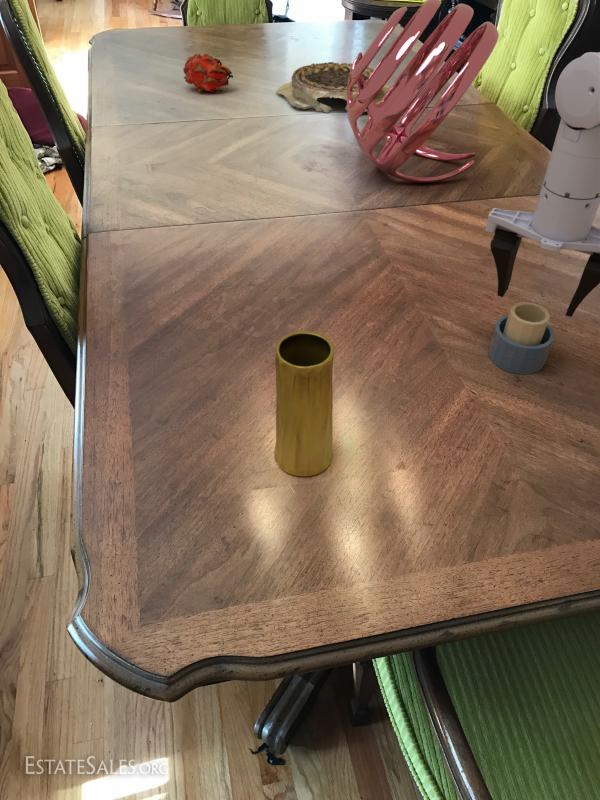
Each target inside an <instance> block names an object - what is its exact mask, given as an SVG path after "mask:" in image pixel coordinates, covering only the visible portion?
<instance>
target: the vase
mask: <svg viewBox="0 0 600 800" xmlns="http://www.w3.org/2000/svg"><path fill="white" fill-rule="evenodd" d="M334 355H335V345H334V344H333V342H332V341H331V339H329V337H327V336H325V335H324V334H321V333H319V332H316V331H310V330H309V331H308V330H298V331H293V332H290V333H288V334H286V335H284V336H283V337H281V338H280V339H279V340H278V342H277V344H276V349H275V389H276V391H275V392H276V393H275V394H276V396H275V399H276V401H275V444H274V445H275V446H274V451H273V457H274V460H275V463H276V464H277V466H278V467H279V468H280V469H281V470H282V471H284V472H286V473H287V474H289V475H292V476H295V477H311V476H316V475H318V474H321V473H323V472H324V471H325V470H326V469H327V468H328V467H329V466H330V464H331V463H332V460H333V455H334V451H333V436H334V435H333V430H334V429H333V428H334V427H333V426H334V425H333V423H334V422H333V409H334V407H333V406H334V405H333V401H334V400H333V398H334V395H333V389H334V388H333V368H334Z"/></svg>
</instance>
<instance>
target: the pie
mask: <svg viewBox="0 0 600 800" xmlns="http://www.w3.org/2000/svg"><path fill="white" fill-rule="evenodd" d="M352 64H353V62H352V63H351V62H350V63H346V62H341V63H339V62H333V61H328V62H321V63H311V64H308V65H303V66H301V67H297V69H296V70H294V71H293V73H292V75H291V81H288V82H286V83H283V84H282V85H280V86H279V87H278V88H277V89H276V91H275V92H276V93H277V94H279V95H282V96H283V97H284V98H285V99H286V100H287V102H288V103H289V105H290V106H292V107H295V108H297V109H301V110H308V109H315V112H316V113H317V112H319V113H321V112H324V113H327V114H328V113H329V112H331V111H333V108H332V107H331V106H330V105H327V104H325V103H323V102H320V101H318V99H319V98H330V99H332V98H334V99H338V98H339V99H342V100H344V101H347V81H348V77H349V73H350V70H351V67H352ZM373 71H374V68H372V67H370V66H368V67H367V68H366V69H365V71H364V72H363V78H364V81H366V80H367V79H368V78H369V77H370V75H371V74H372V72H373ZM391 87H392V86H390V85H388V84H387V83H386V84H385V85H384V87H383V88H382V89H381V91H380V92H379V93H378V94H377V96H376V97H375V98H374V100H373V101H374V102H375V103H376V104H379V103H380V102H381V101H382V99H383V98H384V97H385V95H386V94H387V92H388V91H389V89H390V88H391ZM357 91H358V88H357V82H356V83H355V85H354V86H353V93H352V101H353V100H354V98H355V97H356V95H357ZM344 110H345V111H347V105H346V106H345V108H344ZM365 113H367V110H365V111H364V112H363V113H362V114H365Z"/></svg>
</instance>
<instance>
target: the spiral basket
mask: <svg viewBox="0 0 600 800" xmlns="http://www.w3.org/2000/svg"><path fill="white" fill-rule="evenodd" d="M441 4H442V1H441V0H425V1H424V2H423V3H422V4H421V6H420V7H419V8H418V9H417V10H416V11H415V13H414V14H413V16H412V17H411V18H410V20H409V21H408V23H407V24H406V25H405V26H404V28H403V29H402V31H401V32H400V33H399V34H398V36H397V37H396V38H395V40H394V41H393V43H392V44H391V45H390V47H389V48H388V50H387V51H386V53H385V54H384V55H383V57H381V60H380V61H379V63H378V64H377V65H376V67H375V68H373V70H374V71H373V72H372V74H371V75H370V77H369V78H368V79H367V80H366V81H364V78H363V72H364V71H365V69H366V68H367V67H369V65H370V64H371V63H372V62H373V60H374V58H375V57H376V56H377V54H378V53H379V51H380V50H381V48H382V47H383V46H384V44H385V43H386V42H387V41H388V39H389V37H390V36H391V34H392V33H393V32H394V30H395V28H396V27H397V26H398V24H399V22H401V20H402V18H403V17H404V15H405V14H406V12H407V11H408V7H407V6H402V7H400V8H398V9H396V10H395V11H393V13H392V14H391V15H390V17H389V18H388V20H387V21H386V22H385V24H384V25H383V26H382V28H381V29H380V31H379V32H378V34H377V35H376V37H375V38H374V39H373V40H372V42H371V44H370V45H369V47H368V48H367V50H366V51H365V52H364V54H363V53H362V52H361V51H360V52H359V53H358V54H357V57H355V58H354V59H353V62H352V67H351V70H350V73H349V77H348V81H347V100H346V106H347V110H346V116H347V120H348V123H349V126H350V128H351V131H352V134H353V136H354V138H355V140H356V144H357V146H358V148H359V149H360V151H361V152H362V153H363V154H364V155H365V156H366V157H367V158H368V159H369V160H370V162H372V163H373V164H374V166H376V168H378V169H379V170H380V171H381V172H383V173H384V174H386V175H389V176H391V177H393V178H397V179H399V180H401V181H404V182H409V183H415V184H431V183H438V182H439V183H440V182H442V181H446V180H449V179H451V178H454V177H457V176H459V175H460V174H462V173H464V172H465V171H467V170H468V169H469V168H471V167H472V166H473V165H474V164H475V160H473V159H472V160H470V161H468V162H466V163H464V164H463V165H462V166H460V167H459V168H457V169H455V170H453V171H451V172H448V173H444V174H441V175H436V176H430V177H429V176H428V177H418V176H412V175H407V174H404V173H402V172H399V171H397V169H399V168H401V166H402V165H404V164H405V163H406V162H407V161H408V160H409V159H410V158H411V157H412V156H413V155H414V154H415V155H417V156H420V157H423V158H427V159H431V160H434V161H443V162H454V161H455V162H457V161H465V160H468V159H471V158H473V157H475V156H476V155H477V154H476V153H475V152H467V153H450V152H449V153H448V152H445V151H444V152H443V151H440V150H437V149H433V148H431V147H429V146H426V145H424V143H425V142H427V140H429V138H430V137H431V135H432V134H433V133H434V132H435V131H436V130H437V128H438V127H439V126H440V125H441V124H442V123H443V121H444V120H445V119H446V117H447V116H448V115H449V114H450V112H451V111H452V110H453V109H454V107H456V105H458V104H457V103H458V102H459V101H460V100H461V99H462V97H463V96H464V94H466V92H467V90H468V89H469V87H470V86H471V85H472V84H473V82H474V81H475V80H476V78H477V77H478V75H479V74H480V72H481V70H482V69H483V67H484V66H485V64H486V63H487V61H488V60H489V58H490V57H491V55H492V53H493V51H494V49H495V47H496V46H497V43H498V41H499V35H500V32H499V30H498V29H497V27H496V26H495V24H493V23H492V22H491V21H485V22H483V23H482V24H480V25H479V26H478V27H477V28H475V30H473V31H472V32H471V33H470V34H469V36H467V37H466V39H465V40H464V41H463V42H462V43H461V44H460V45H459V46H458V47H457V48H456V49H455V51H454V52H453V53H451V52H452V51H453V50H454V48H455V46H456V45H457V43H458V42H459V40H460V38H461V37H462V35H463V34H464V33H465V31H466V29H467V27H468V26H469V24H470V22H471V21H472V18H473V16H474V14H475V13H474V9H473V8H472V7H471V6H470V5H468V4H465V3H458V4H457V5H455V6H454V7H453V8H452V10H450V11H449V13H447V15H446V16H445V17H444V18H443V19H442V21H441V22H440V23H439V24H438V25H437V26H436V28H435V29H434V30H433V31H432V33H430V35H429V36H428V38H427V39H426V40H425V42H423V44H422V45H421V46H420V48H419V49H418V50H417V51H416V53H415V54H414V56H413V57H412V58H411V60H410V61H409V62H408V63H407V65H406V66H405V68H404V69H403V70H402V72H401V73H400V74H399V75H398V77H397V78H396V79H395V81H394V82H393V84H392V85H391V86H390V87H391V88H390V89H389V91H388V92H387V94H386V95H385V97H384V98H383V99H382V101H381V102H380V103H379V104H376V103H375V102H374V101H373V100H374V98H375V97H376V96H377V94H378V93H379V92H380V91H381V89H382V88H383V87H384V85H385V84H386V85H387V82H389V80H390V78H391V77H392V76H393V75H394V73H395V72H396V70H397V69H398V68H399V66H400V65H401V63H403V61H404V60H405V58H406V57H407V56H408V54H409V53H410V51H412V49H413V47H414V46H415V44H416V43H417V41H418V40H419V39H420V37H421V36H422V34H423V33H424V31H425V30H426V28H427V27H428V25H429V24H430V22H431V21H432V19H433V18H434V16H435V15H436V13H437V11H438V10H439V8H440V7H441ZM450 53H451V55H450ZM449 55H450V56H449ZM448 56H449V57H448ZM446 59H447V60H446ZM463 64H464V65H463ZM460 68H461V69H460ZM459 69H460V71H458V70H459ZM457 71H458V73H457ZM456 73H457V74H456ZM454 74H456V76H455V77H454V79H452V77H453V76H454ZM450 79H452V81H451V83H450V84H449V85H448V87H447V88H446V89H445V91H444V92H443V94H442V95H441V96H440V97H439V98H438V100H436V103H434V104H433V106H432V107H431V109H430V110H429V111H428V112H427V113H426V115H425V116H424V117H423V119H422V120H421V121H420V122H419V124H418V125H416V127H415V128H414V129H413V127H414V125H415V124H416V123H417V121H418V120H419V119H420V117H421V116H422V115H423V113H424V112H425V111H426V109H427V108H428V107H429V105H430V104H431V103H432V101H433V100H435V98H436V97H437V95H438V94H439V93H440V92H441V91H442V89H443V88H444V87H445V85H447V83H448V82H449V81H450ZM356 82H357V88H358V91H357V95H356V97H355V98H354V100H353V101H352V93H353V86H354V85H355V83H356ZM365 110H367V111H366V113H367V117H368V119H367V121H366V123H365V125H364V126H363V128H362V130H361V131H360V130H359V127H358V120H359V118H361V116H362V115H363V114H364V113H365V112H364V111H365ZM363 112H364V113H363ZM400 119H401V120H400ZM412 129H413V131H411V130H412ZM410 132H411V133H410ZM385 137H386V142H385V144H384V146H383V147H382V149H381V150H380V153H379V155H378V157H377V156H376V155H375V154H374V152H373V149H374V148H375V147H377V145H379V143H380V142H381V141H382V140H383V139H384V138H385Z"/></svg>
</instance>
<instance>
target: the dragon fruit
mask: <svg viewBox="0 0 600 800" xmlns="http://www.w3.org/2000/svg"><path fill="white" fill-rule="evenodd" d="M182 71H183V74H184V76H183V79H184V82H186V83H187V84H188V85H193V86H194V87H196V90H197V91H198V93H201V92H202V91H206V92H210V93H212V94H220V93H222V92H223V90H222V89H219V88H221V87H225V86H229V83H230V82H229V81H230V80H229V79H233V78H234V75H233V72H232V71H231V69H230V68H229V67H227V66H224V65H223V63H222V62H221V59H218V58H216V57H215V58H213V56H212V55H210V54H208V53H204V54H202V55H201V53H194V54H193V55H192V56H189V57H188V58H187V61H185V63H184V66H183V68H182Z"/></svg>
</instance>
